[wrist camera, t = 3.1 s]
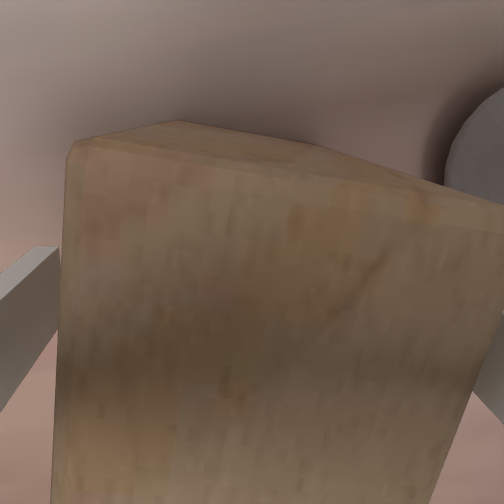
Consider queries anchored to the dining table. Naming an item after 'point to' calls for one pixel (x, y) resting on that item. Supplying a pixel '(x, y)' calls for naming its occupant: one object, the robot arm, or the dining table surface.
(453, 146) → the coffee pot
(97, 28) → the dining table surface
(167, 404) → the wooden block
